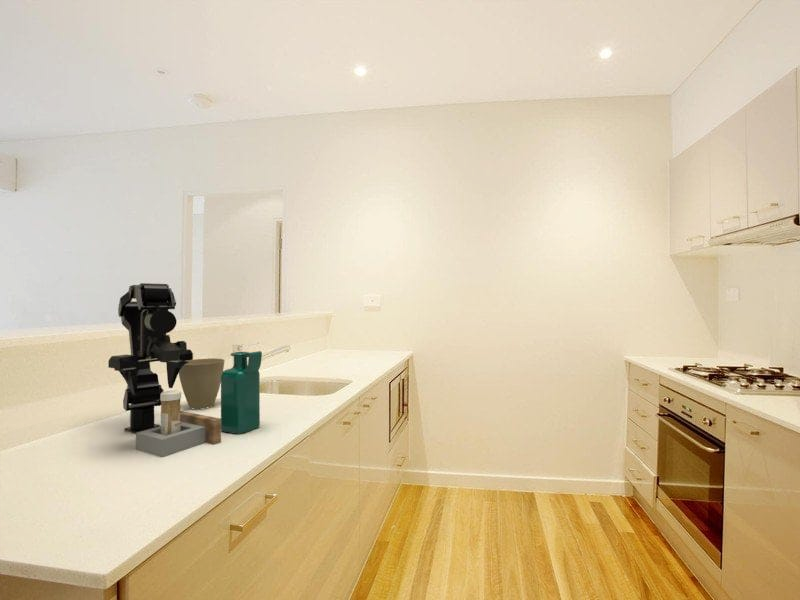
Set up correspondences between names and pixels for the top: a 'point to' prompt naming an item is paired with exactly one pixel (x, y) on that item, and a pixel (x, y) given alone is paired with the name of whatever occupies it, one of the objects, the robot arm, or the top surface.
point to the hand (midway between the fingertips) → (153, 391)
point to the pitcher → (241, 394)
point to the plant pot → (201, 381)
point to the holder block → (170, 439)
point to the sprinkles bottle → (170, 412)
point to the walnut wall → (205, 425)
